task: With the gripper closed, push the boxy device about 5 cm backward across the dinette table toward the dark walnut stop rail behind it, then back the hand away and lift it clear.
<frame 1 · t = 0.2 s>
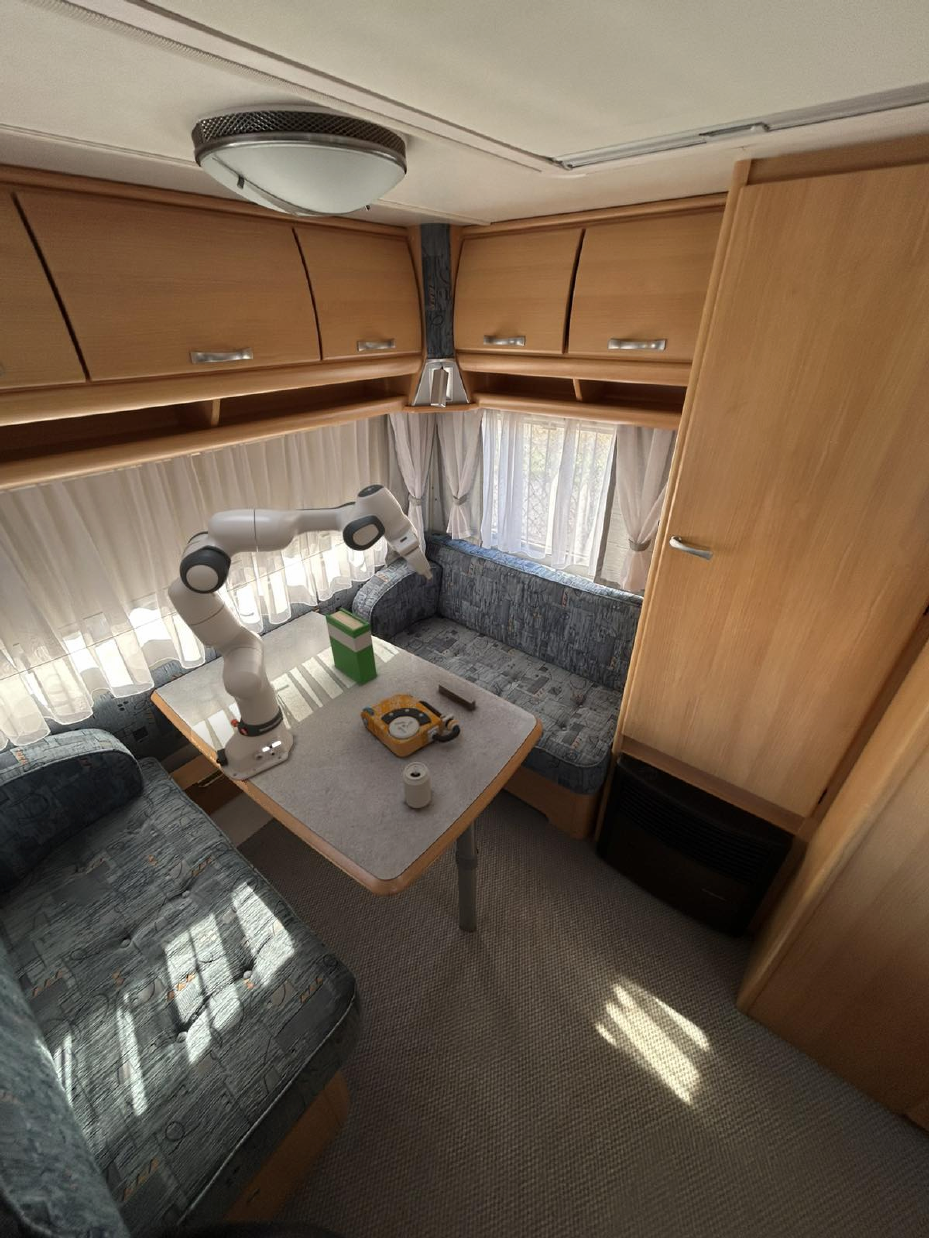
hand: (426, 570, 147), 54 cm above the table, tool tilted 30°, fingers open, 8 cm apart
stop rail: (456, 699, 178), on the table
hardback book: (355, 671, 194), on the table
device: (412, 732, 165), on the table
can: (418, 799, 142), on the table
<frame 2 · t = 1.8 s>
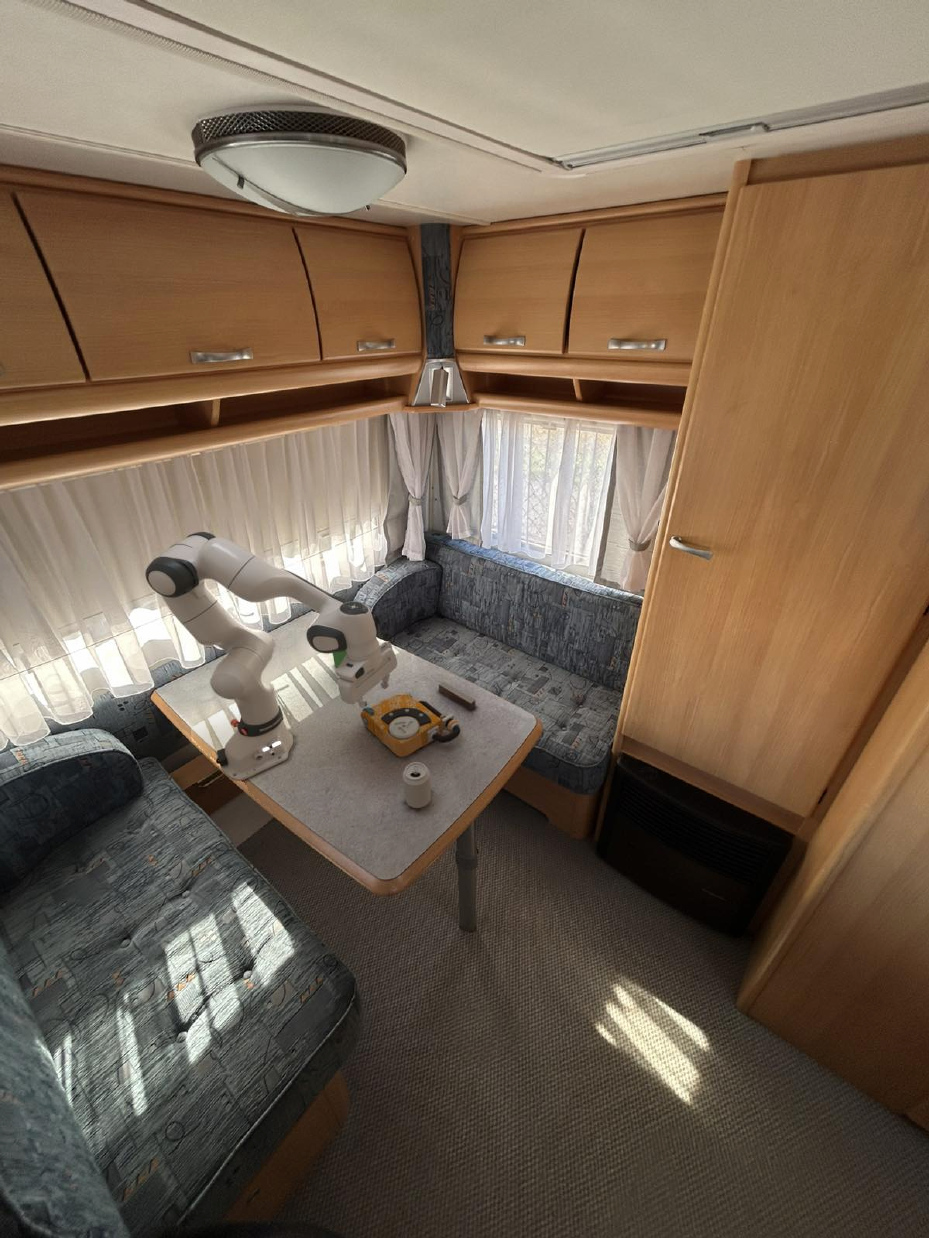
hand: (374, 696, 141), 26 cm above the table, tool pointing down, fingers open, 8 cm apart
nothing on the table moved.
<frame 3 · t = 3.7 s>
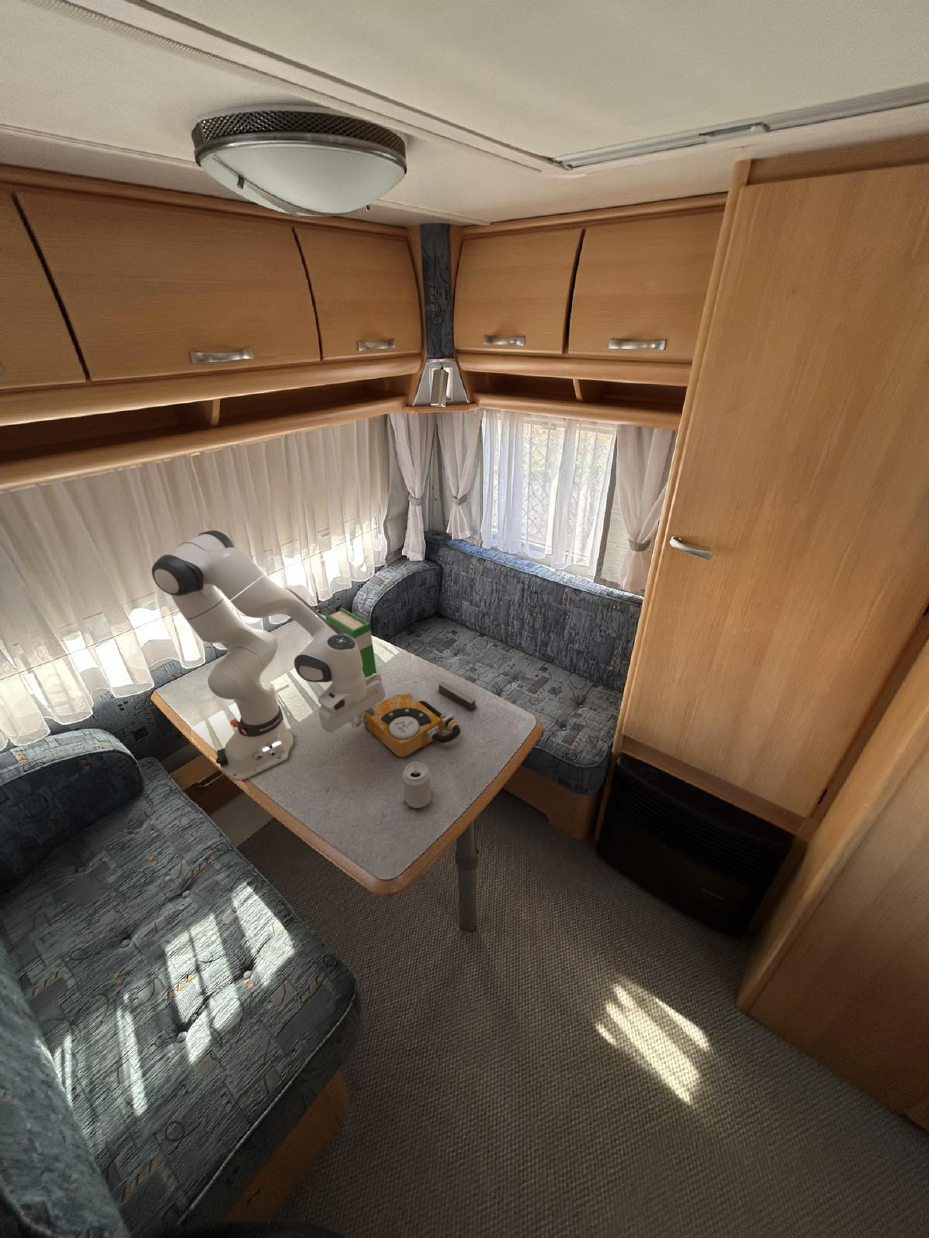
hand: (357, 725, 143), 17 cm above the table, tool pointing down, fingers closed
nothing on the table moved.
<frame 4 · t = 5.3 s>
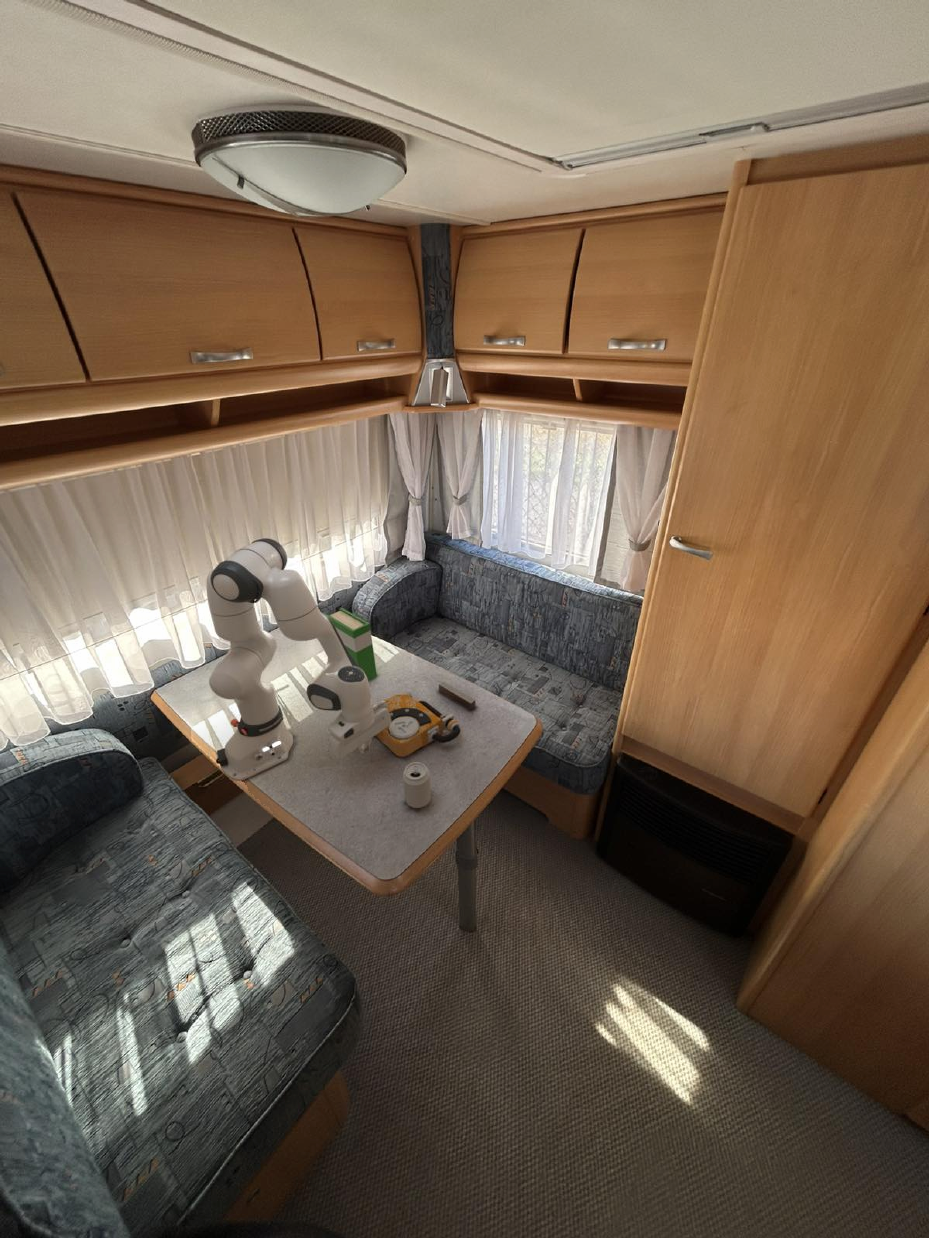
hand: (364, 750, 150), 6 cm above the table, tool pointing down, fingers closed
nothing on the table moved.
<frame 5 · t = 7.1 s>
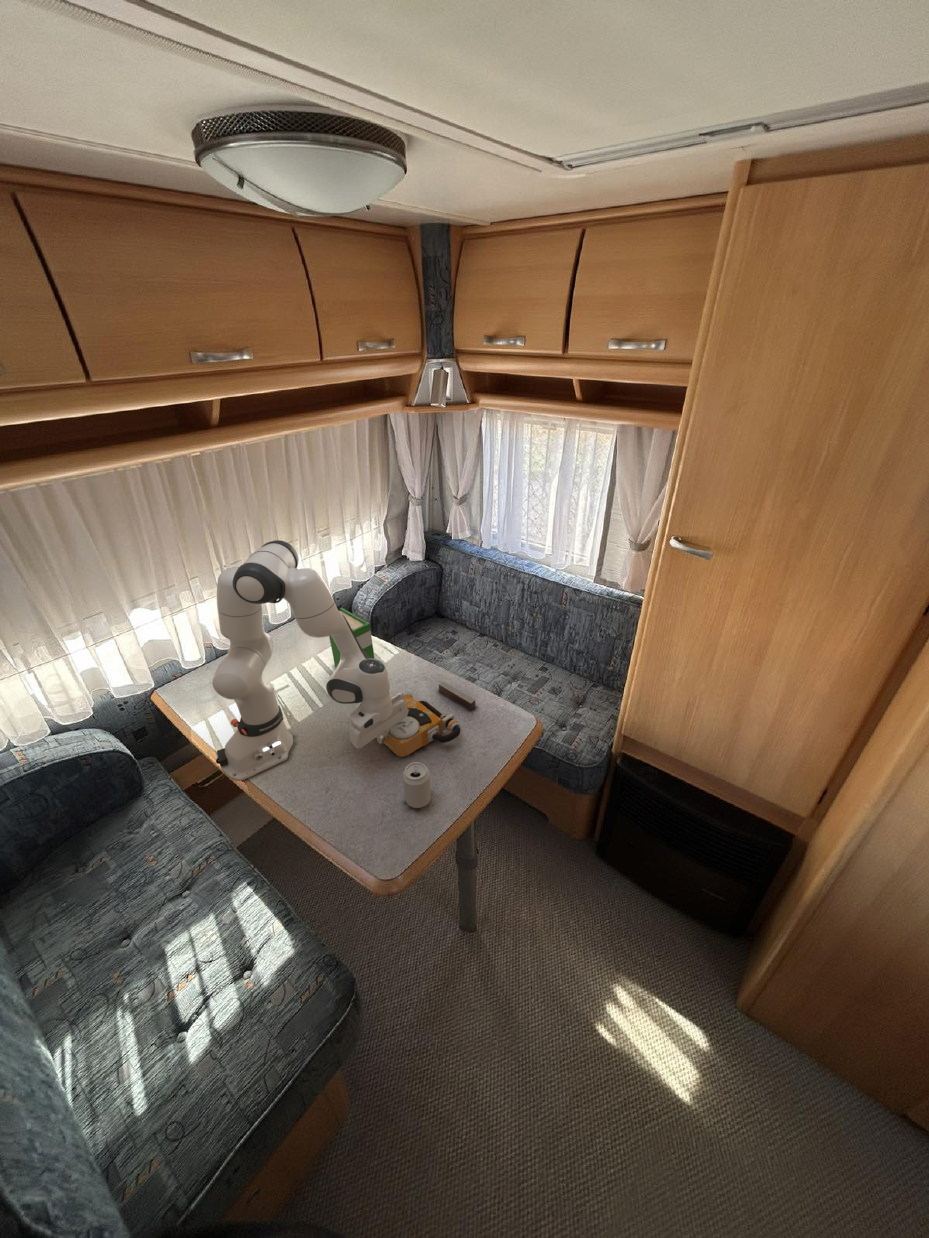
hand: (382, 740, 154), 5 cm above the table, tool pointing down, fingers closed
device: (412, 732, 165), on the table, touching gripper
everything else where it was.
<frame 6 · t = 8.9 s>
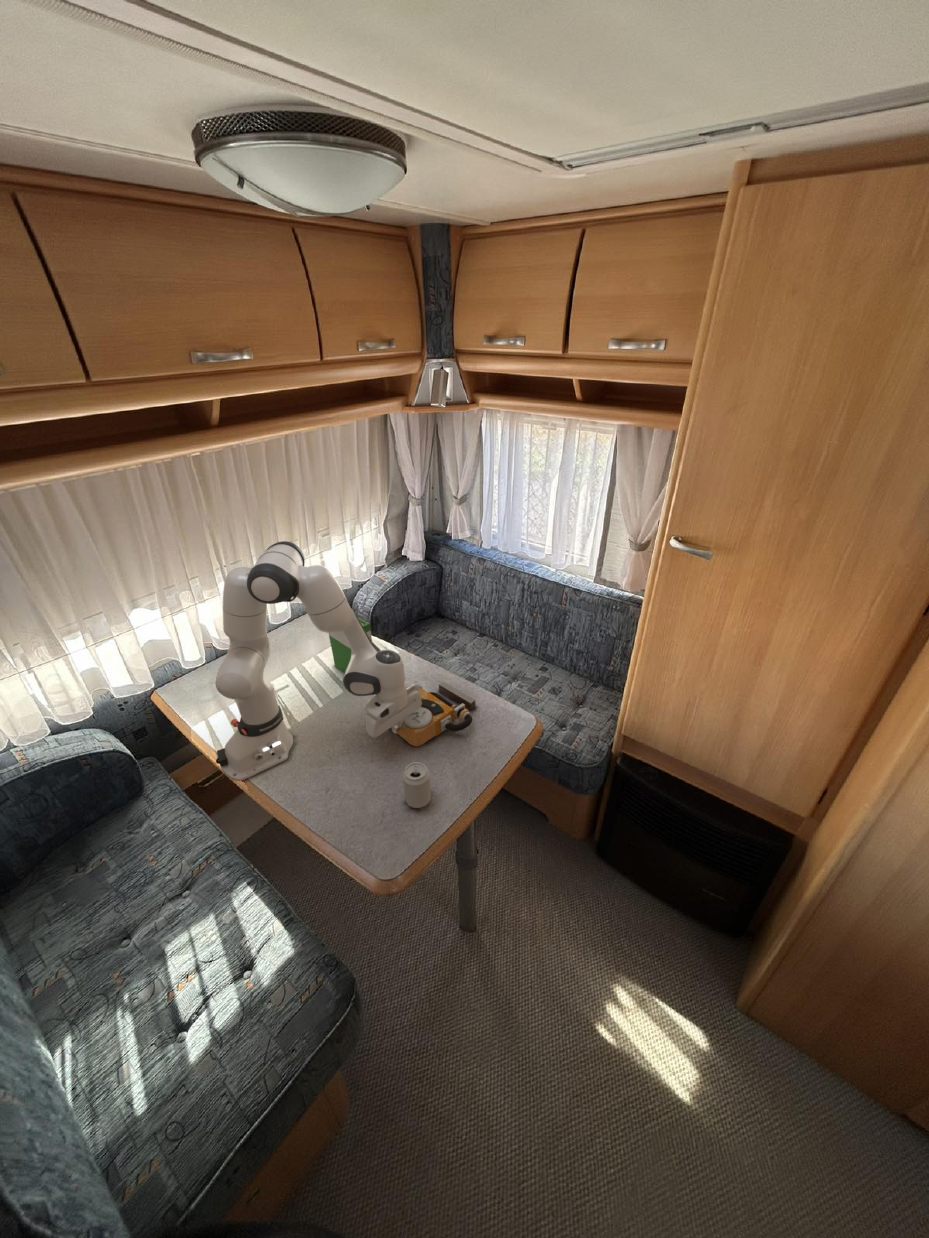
hand: (397, 730, 158), 5 cm above the table, tool pointing down, fingers closed
device: (424, 722, 169), on the table, touching gripper
everything else where it was.
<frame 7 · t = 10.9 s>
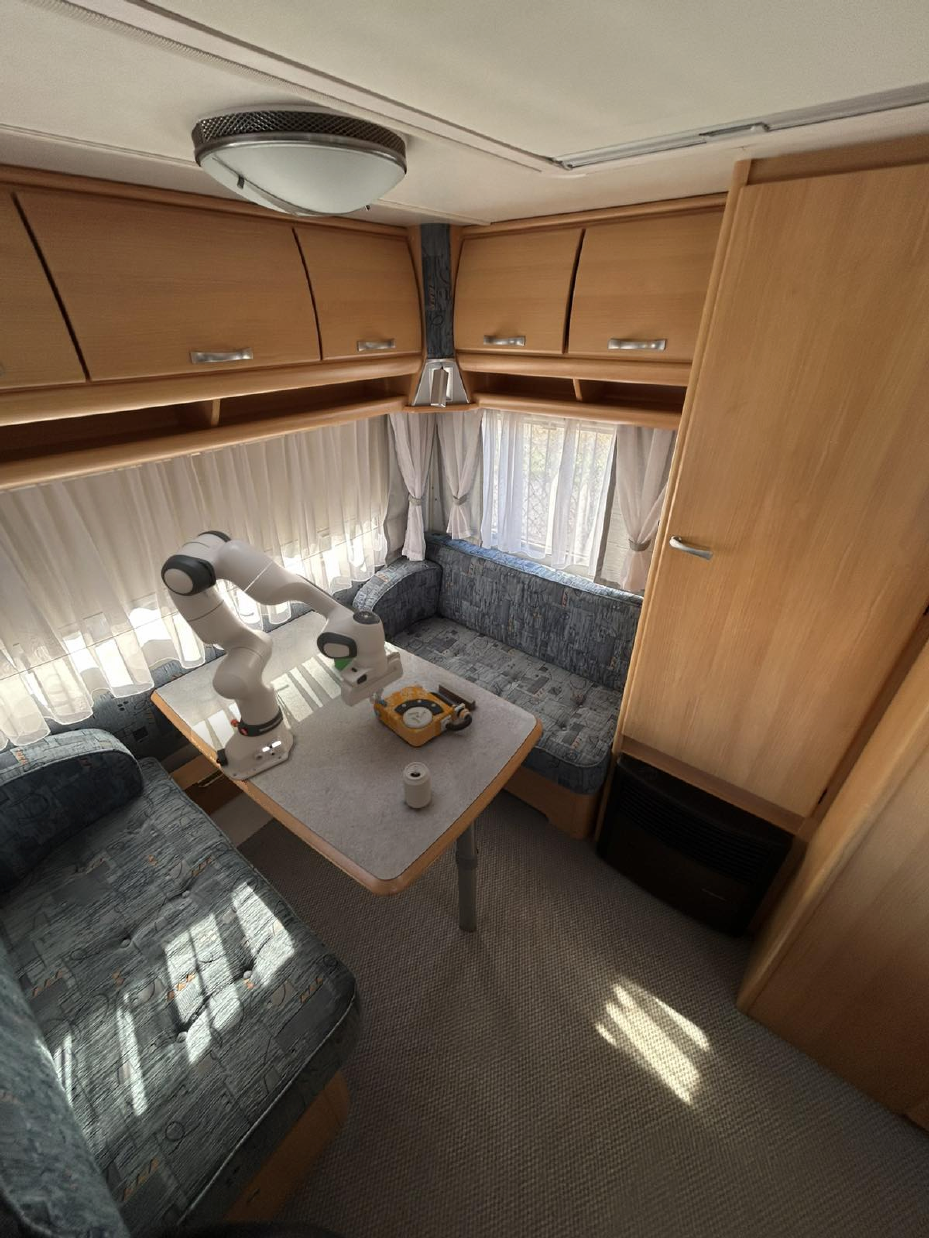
hand: (375, 701, 146), 21 cm above the table, tool pointing down, fingers closed
device: (424, 722, 169), on the table
everything else where it was.
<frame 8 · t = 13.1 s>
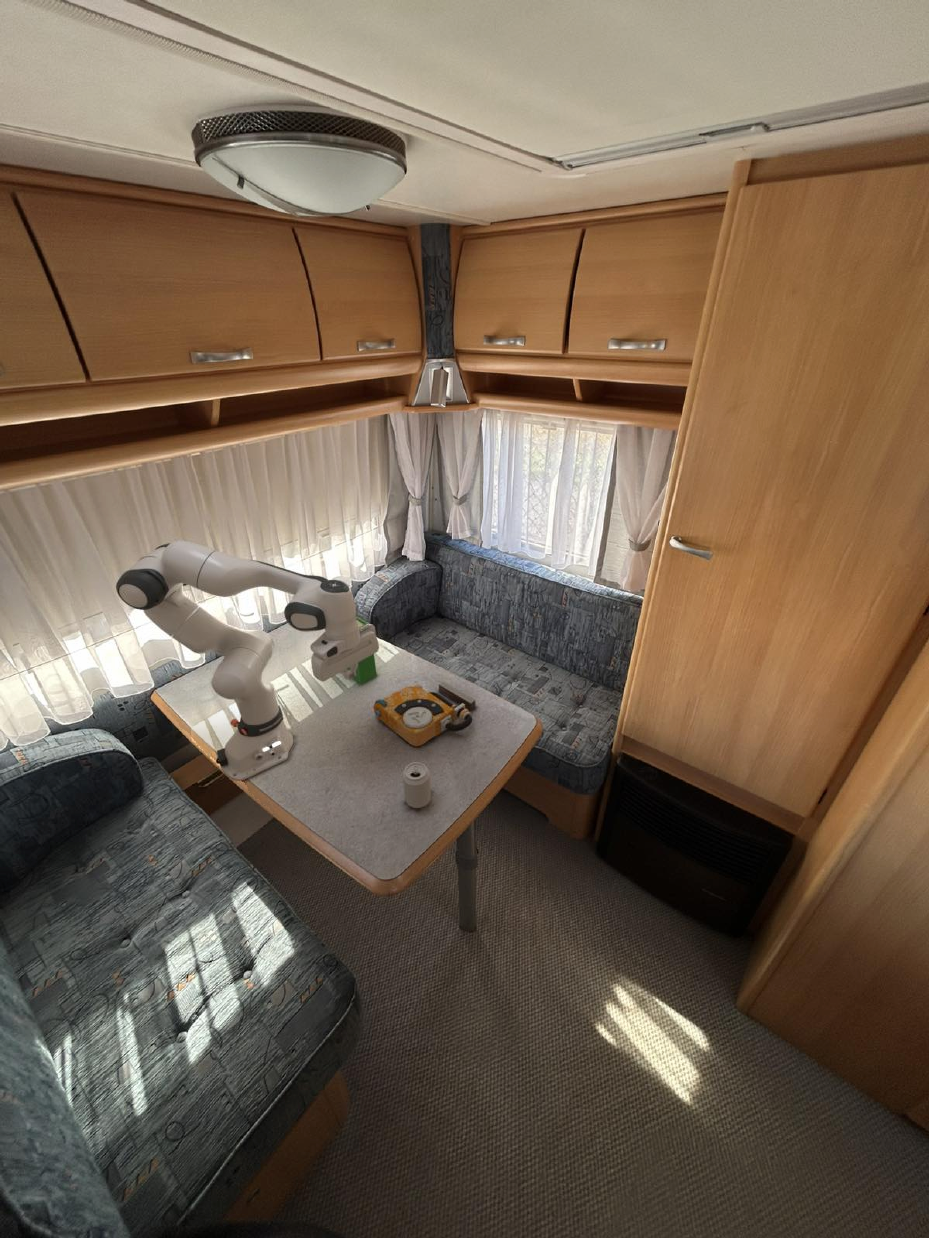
hand: (350, 677, 140), 31 cm above the table, tool pointing down, fingers closed
nothing on the table moved.
at the end: device 0.5 cm from the target spot, on the table; device tilted 2° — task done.
